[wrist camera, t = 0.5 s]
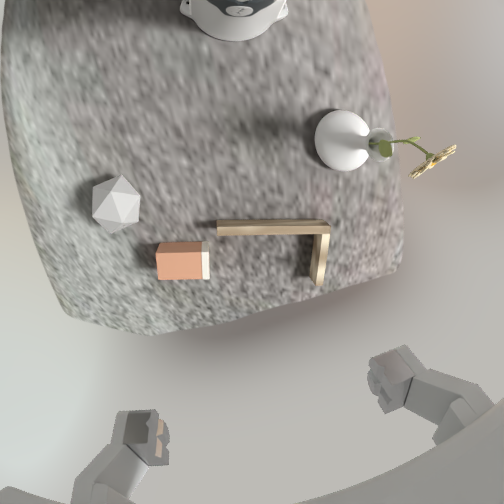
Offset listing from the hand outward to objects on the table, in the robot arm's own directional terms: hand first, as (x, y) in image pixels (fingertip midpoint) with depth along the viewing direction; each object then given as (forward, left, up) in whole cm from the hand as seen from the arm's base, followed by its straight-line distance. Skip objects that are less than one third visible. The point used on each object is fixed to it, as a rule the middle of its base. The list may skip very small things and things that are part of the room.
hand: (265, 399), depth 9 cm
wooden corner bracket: (+12, +10, -43) cm, 46 cm away
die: (+2, -17, -44) cm, 47 cm away
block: (+13, -6, -43) cm, 46 cm away
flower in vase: (-9, +23, -44) cm, 50 cm away
